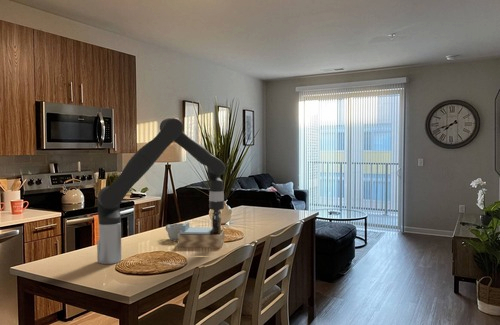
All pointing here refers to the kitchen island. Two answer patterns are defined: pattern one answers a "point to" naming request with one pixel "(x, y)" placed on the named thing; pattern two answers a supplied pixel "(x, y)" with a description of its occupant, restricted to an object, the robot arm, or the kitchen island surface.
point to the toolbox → (201, 240)
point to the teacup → (174, 231)
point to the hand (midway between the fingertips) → (216, 232)
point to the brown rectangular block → (218, 227)
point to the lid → (195, 229)
